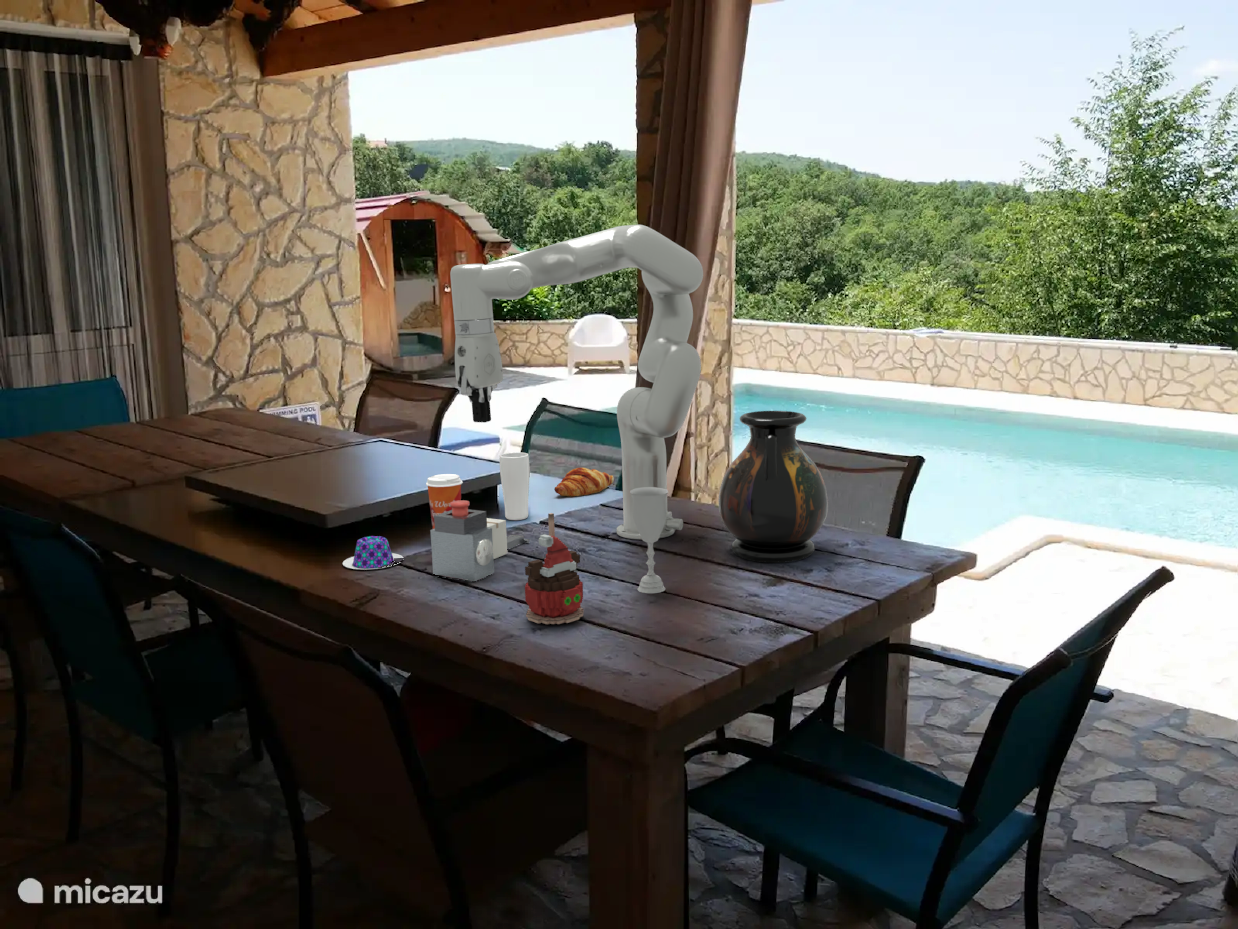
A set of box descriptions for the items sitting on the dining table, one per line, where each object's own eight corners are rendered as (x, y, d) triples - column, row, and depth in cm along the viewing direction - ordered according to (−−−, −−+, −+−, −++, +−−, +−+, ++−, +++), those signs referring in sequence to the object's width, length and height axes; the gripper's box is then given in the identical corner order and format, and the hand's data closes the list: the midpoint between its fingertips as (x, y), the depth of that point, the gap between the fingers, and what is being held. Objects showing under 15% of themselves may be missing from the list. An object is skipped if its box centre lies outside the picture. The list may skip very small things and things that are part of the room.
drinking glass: (526, 522, 246) (524, 457, 244) (498, 521, 248) (495, 457, 245) (535, 515, 253) (532, 452, 250) (507, 514, 254) (504, 452, 252)
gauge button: (474, 524, 205) (473, 501, 204) (462, 529, 202) (461, 505, 201) (459, 523, 207) (458, 499, 206) (447, 527, 204) (446, 503, 203)
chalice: (676, 592, 192) (674, 493, 188) (639, 597, 190) (637, 497, 186) (662, 581, 199) (660, 485, 195) (627, 585, 197) (624, 489, 193)
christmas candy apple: (561, 605, 187) (557, 503, 183) (597, 617, 180) (594, 512, 177) (512, 620, 180) (507, 515, 176) (548, 633, 173) (543, 524, 169)
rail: (529, 543, 228) (529, 535, 228) (483, 562, 214) (483, 554, 214) (510, 540, 230) (510, 533, 230) (463, 559, 217) (463, 552, 216)
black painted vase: (828, 570, 203) (829, 423, 197) (713, 567, 207) (712, 423, 201) (827, 540, 224) (828, 406, 218) (723, 538, 227) (722, 407, 222)
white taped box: (507, 553, 220) (506, 519, 219) (490, 560, 215) (488, 526, 213) (481, 549, 223) (480, 516, 222) (464, 557, 218) (462, 523, 217)
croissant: (604, 496, 288) (593, 468, 289) (630, 482, 281) (618, 454, 282) (549, 509, 272) (538, 480, 273) (575, 495, 265) (563, 465, 266)
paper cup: (422, 544, 230) (418, 479, 227) (440, 535, 237) (436, 472, 234) (455, 546, 227) (451, 481, 224) (472, 537, 234) (468, 474, 231)
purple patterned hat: (332, 564, 217) (330, 539, 216) (386, 552, 225) (385, 528, 224) (359, 576, 208) (357, 550, 207) (414, 564, 215) (413, 539, 214)
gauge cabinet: (497, 573, 207) (494, 512, 204) (475, 583, 201) (471, 520, 198) (454, 566, 212) (450, 507, 210) (431, 576, 206) (427, 515, 204)
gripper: (467, 332, 201) (475, 428, 205) (511, 324, 214) (518, 415, 218) (435, 332, 205) (444, 427, 208) (480, 325, 217) (488, 414, 221)
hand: (482, 421), depth 213 cm, fingers closed
